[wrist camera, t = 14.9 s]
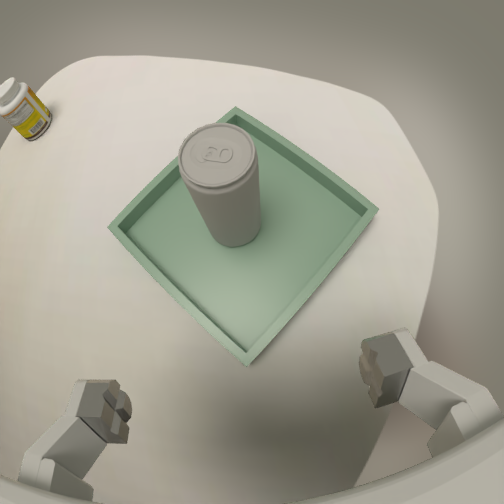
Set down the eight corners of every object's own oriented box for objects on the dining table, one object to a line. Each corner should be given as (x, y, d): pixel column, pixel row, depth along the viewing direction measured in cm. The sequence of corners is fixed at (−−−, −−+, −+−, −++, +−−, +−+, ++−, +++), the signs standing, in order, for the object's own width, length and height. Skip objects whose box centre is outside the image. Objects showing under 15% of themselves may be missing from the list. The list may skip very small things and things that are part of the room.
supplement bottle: (35, 115, 36) (2, 77, 26) (58, 110, 36) (25, 68, 26) (20, 144, 35) (-17, 107, 25) (43, 140, 34) (5, 99, 24)
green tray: (370, 219, 29) (379, 208, 26) (248, 364, 26) (246, 367, 23) (237, 121, 33) (235, 106, 30) (118, 235, 30) (107, 227, 27)
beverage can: (216, 196, 29) (189, 117, 18) (265, 205, 29) (265, 125, 17) (203, 243, 28) (164, 182, 17) (255, 253, 28) (247, 195, 16)
